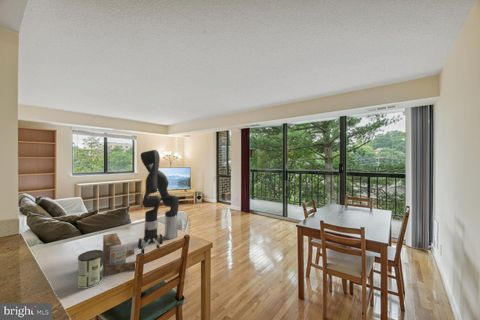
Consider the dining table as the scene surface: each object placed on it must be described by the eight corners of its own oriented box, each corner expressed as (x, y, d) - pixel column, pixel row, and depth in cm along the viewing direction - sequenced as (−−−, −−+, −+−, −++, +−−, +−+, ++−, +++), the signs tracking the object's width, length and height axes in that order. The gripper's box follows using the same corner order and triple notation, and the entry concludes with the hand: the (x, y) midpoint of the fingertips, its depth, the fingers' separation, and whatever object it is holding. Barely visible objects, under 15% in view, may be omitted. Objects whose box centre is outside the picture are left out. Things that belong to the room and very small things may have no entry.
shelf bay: (133, 253, 137) (134, 228, 137) (142, 268, 119) (143, 240, 119) (101, 260, 127) (102, 233, 127) (106, 278, 108) (107, 247, 108)
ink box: (108, 270, 116) (109, 249, 116) (106, 264, 122) (107, 244, 122) (126, 266, 121) (126, 246, 121) (123, 260, 128) (123, 241, 128)
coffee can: (90, 275, 110) (90, 248, 110) (107, 277, 109) (108, 250, 109) (71, 287, 100) (72, 257, 100) (90, 290, 99) (91, 260, 99)
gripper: (160, 223, 140) (160, 248, 140) (137, 227, 131) (136, 253, 131) (164, 226, 134) (163, 252, 134) (140, 231, 125) (139, 258, 125)
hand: (150, 252), depth 132 cm, fingers open, 8 cm apart
